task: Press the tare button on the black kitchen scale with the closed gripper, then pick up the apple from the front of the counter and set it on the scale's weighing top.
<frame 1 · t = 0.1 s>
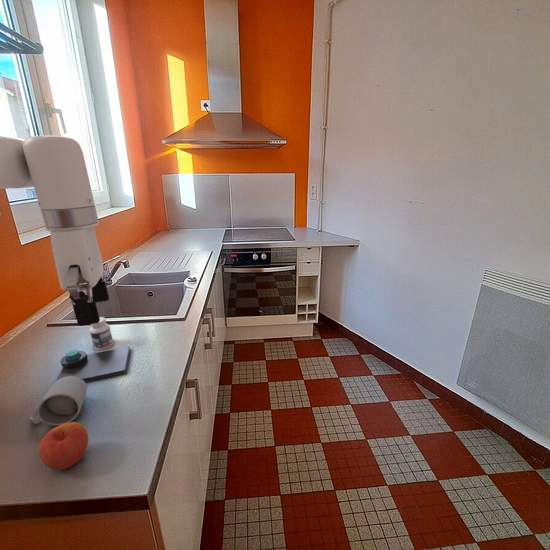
hand: (95, 311, 55), 26 cm above the worktop, tool pointing down, fingers open, 9 cm apart
apple: (70, 461, 56), on the worktop
ceramic mug: (62, 414, 67), on the worktop
pill bottle: (104, 346, 93), on the worktop
scale: (96, 368, 82), on the worktop
tare button: (73, 355, 82), point 4 cm above the worktop, slide at 0.1 cm
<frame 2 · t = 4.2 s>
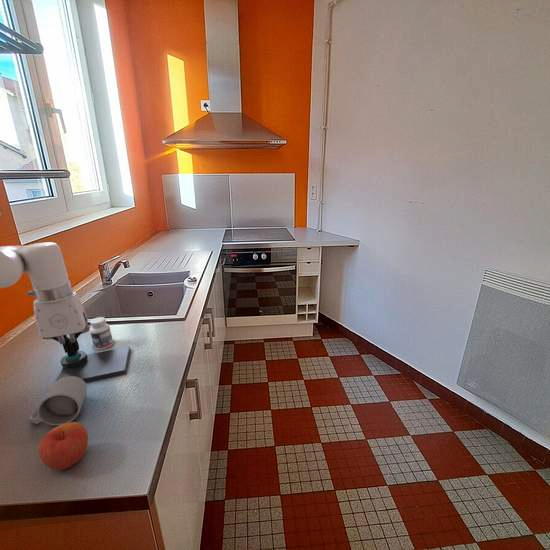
hand: (73, 353, 82), 4 cm above the worktop, tool pointing down, fingers closed
tare button: (73, 356, 82), point 3 cm above the worktop, slide at -0.2 cm, touching gripper
everything else where it was.
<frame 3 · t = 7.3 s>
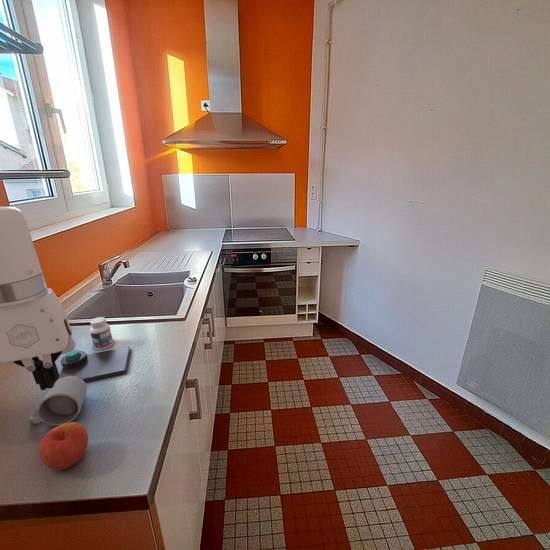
hand: (49, 384, 53), 16 cm above the worktop, tool pointing down, fingers closed
tare button: (73, 355, 82), point 3 cm above the worktop, slide at 0.1 cm
everything else where it was.
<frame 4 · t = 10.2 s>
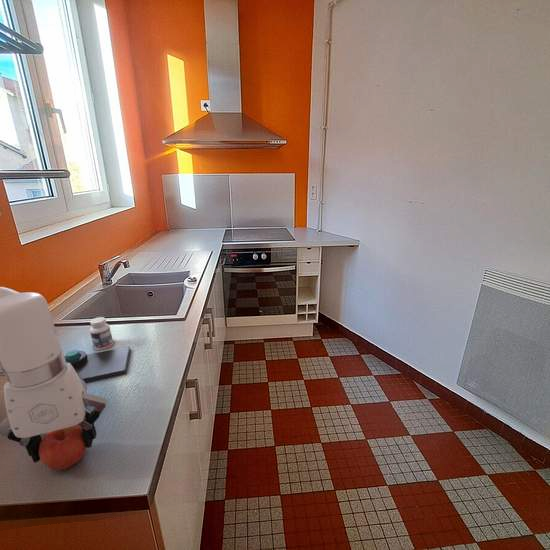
hand: (65, 447, 55), 3 cm above the worktop, tool pointing down, fingers closed on apple, 7 cm apart
apple: (70, 461, 56), on the worktop, touching gripper
everything else where it was.
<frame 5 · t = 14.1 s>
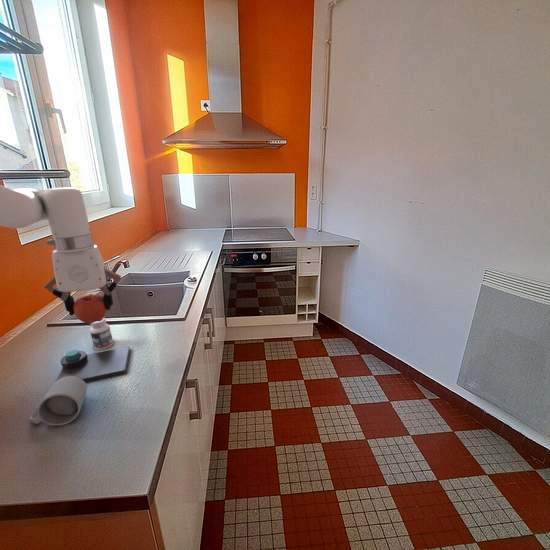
hand: (91, 310, 76), 18 cm above the worktop, tool pointing down, fingers closed on apple, 7 cm apart
apple: (94, 322, 78), point 14 cm above the worktop, touching gripper
everything else where it was.
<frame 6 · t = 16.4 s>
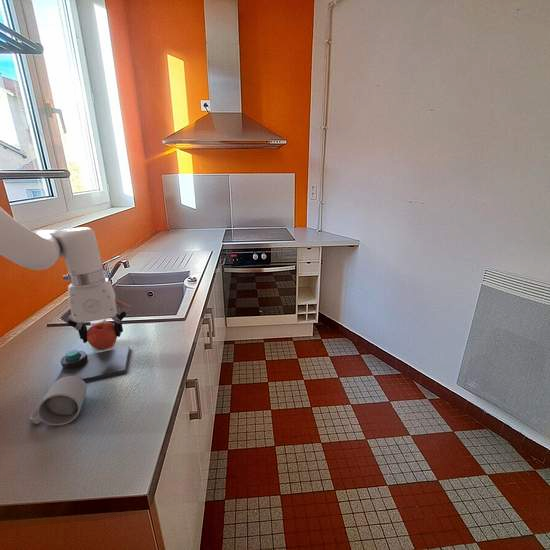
hand: (103, 337, 82), 8 cm above the worktop, tool pointing down, fingers closed on apple, 7 cm apart
apple: (105, 347, 84), point 5 cm above the worktop, touching gripper
everything else where it was.
when the fingers open (5 cm above the worktop, at t = 18.1 s): apple stays where it is, resting on scale.
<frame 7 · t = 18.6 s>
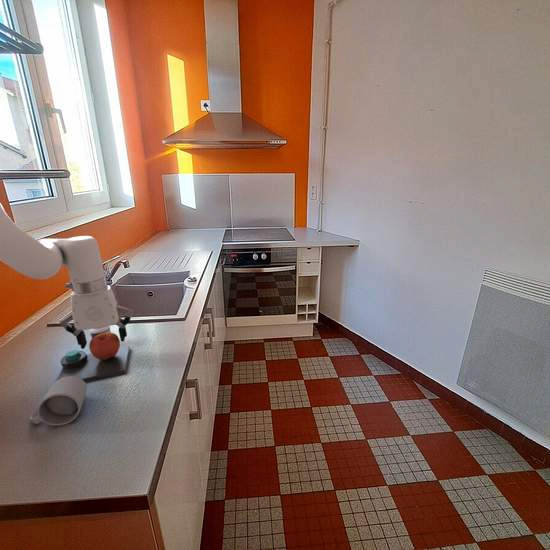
hand: (104, 342, 83), 6 cm above the worktop, tool pointing down, fingers open, 9 cm apart
apple: (108, 358, 85), point 1 cm above the worktop, touching scale
everything else where it was.
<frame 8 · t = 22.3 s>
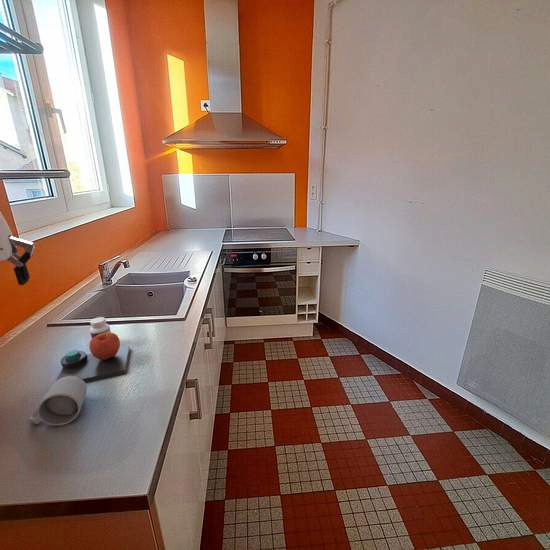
nothing on the worktop moved.
at the end: tare button pushed in 0.9 cm at the most during the clip, back to where it started at the end; apple touching scale; apple inside the target area on the scale (2.1 cm from its centre), point 1.2 cm above the scale's base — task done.
